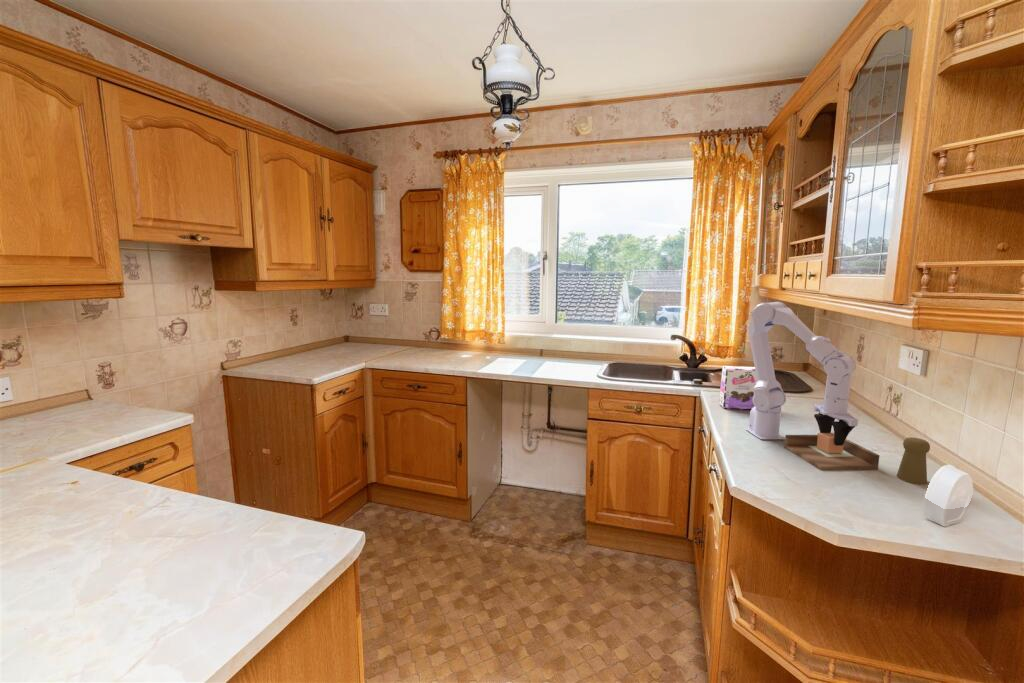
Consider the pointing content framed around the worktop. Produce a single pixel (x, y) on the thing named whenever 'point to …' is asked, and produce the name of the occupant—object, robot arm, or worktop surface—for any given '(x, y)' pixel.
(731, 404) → the candy box
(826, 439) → the cube
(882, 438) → the worktop surface
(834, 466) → the arena
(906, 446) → the cork
